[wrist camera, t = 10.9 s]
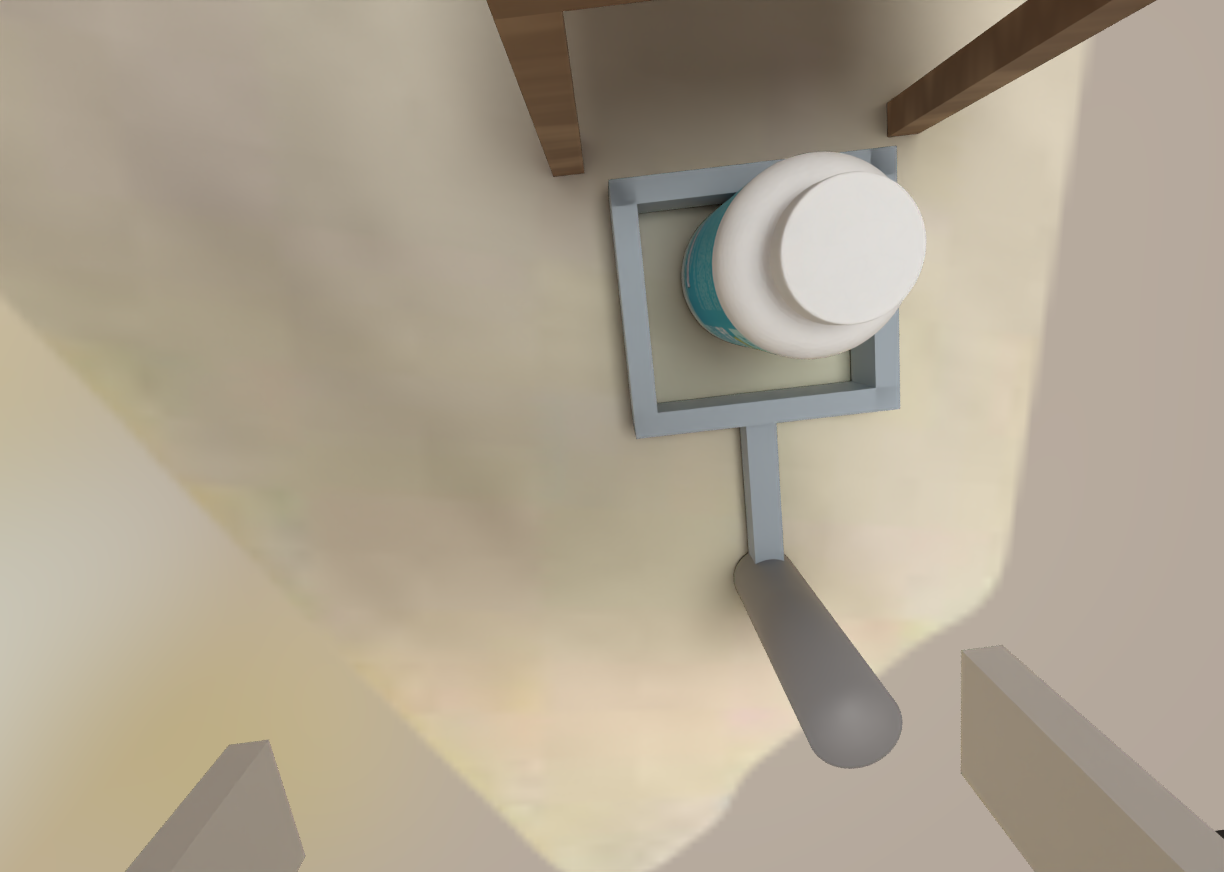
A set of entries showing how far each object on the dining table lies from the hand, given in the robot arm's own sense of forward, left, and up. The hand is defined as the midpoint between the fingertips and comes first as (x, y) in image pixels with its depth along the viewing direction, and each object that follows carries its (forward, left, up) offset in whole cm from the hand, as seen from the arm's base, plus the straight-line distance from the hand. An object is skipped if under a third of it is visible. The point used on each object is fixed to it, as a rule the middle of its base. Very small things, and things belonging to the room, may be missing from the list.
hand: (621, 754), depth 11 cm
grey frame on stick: (-2, +8, -23) cm, 24 cm away
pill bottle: (-9, +9, -23) cm, 26 cm away
